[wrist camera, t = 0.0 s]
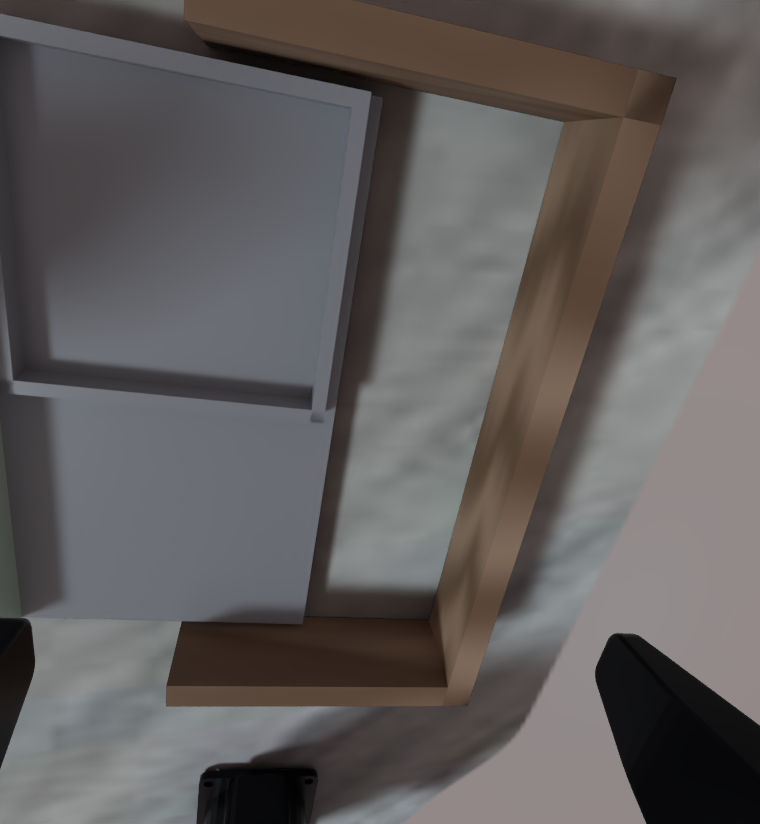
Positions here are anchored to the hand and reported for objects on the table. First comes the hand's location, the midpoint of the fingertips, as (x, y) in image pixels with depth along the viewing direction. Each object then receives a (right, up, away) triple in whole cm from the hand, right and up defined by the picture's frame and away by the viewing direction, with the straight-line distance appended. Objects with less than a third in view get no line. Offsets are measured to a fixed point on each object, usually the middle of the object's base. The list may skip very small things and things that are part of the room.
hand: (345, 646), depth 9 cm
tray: (-7, +5, +13) cm, 16 cm away
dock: (0, +4, +15) cm, 15 cm away
